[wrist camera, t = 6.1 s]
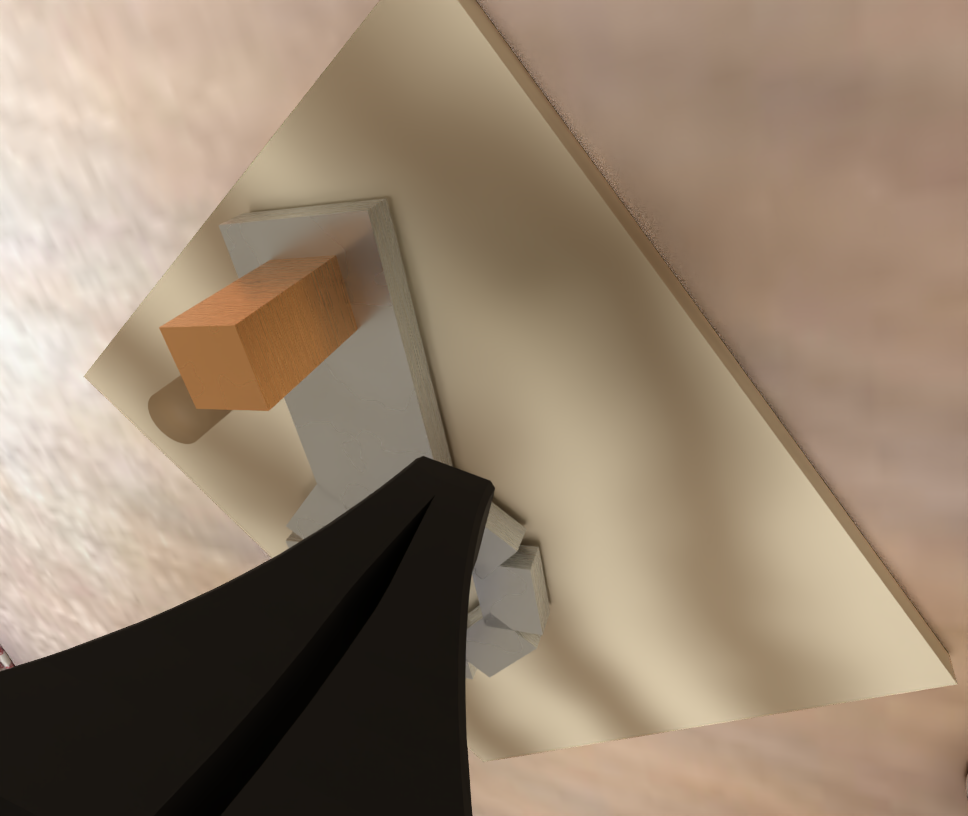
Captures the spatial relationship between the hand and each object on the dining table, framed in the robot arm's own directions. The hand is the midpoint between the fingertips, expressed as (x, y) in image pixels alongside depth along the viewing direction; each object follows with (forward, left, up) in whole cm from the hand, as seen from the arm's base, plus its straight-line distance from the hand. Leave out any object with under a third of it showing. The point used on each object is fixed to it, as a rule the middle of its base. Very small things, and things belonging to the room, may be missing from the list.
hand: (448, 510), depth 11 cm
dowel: (-8, +4, -8) cm, 12 cm away
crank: (-7, -1, -7) cm, 10 cm away
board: (-6, -3, -8) cm, 11 cm away
